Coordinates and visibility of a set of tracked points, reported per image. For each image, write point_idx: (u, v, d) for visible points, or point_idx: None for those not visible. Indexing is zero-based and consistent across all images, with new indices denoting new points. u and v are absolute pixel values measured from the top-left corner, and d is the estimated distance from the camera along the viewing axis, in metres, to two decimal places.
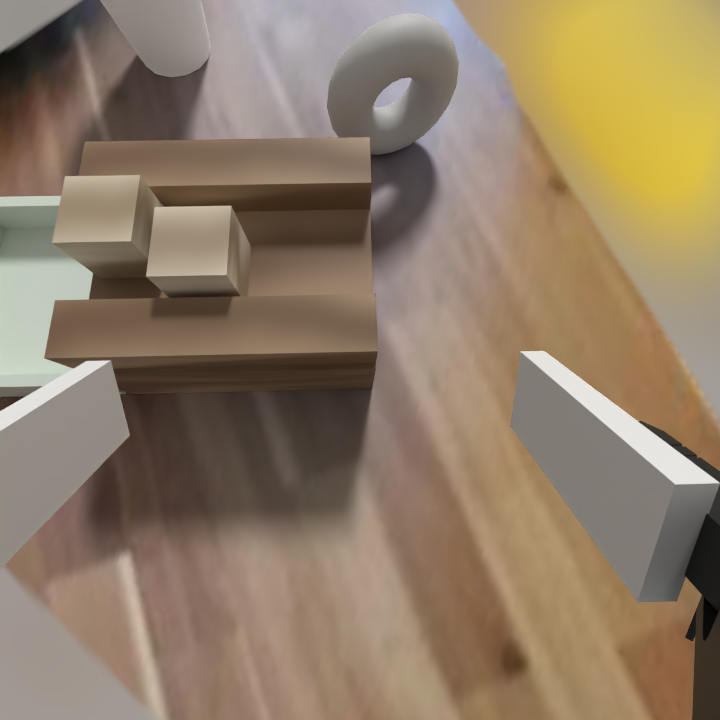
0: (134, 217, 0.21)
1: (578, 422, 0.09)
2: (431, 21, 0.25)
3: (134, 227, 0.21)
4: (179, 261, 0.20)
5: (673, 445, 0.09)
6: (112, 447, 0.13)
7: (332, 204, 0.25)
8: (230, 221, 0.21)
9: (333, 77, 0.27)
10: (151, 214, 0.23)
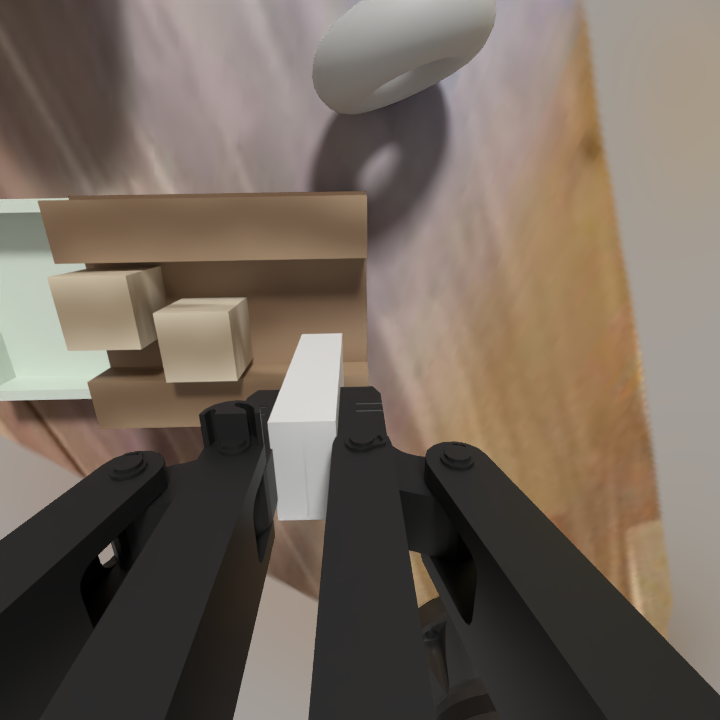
0: (136, 324, 0.22)
1: None
2: None
3: (139, 332, 0.22)
4: (192, 369, 0.22)
5: (374, 402, 0.11)
6: None
7: None
8: (230, 327, 0.22)
9: (320, 61, 0.20)
10: (145, 295, 0.23)
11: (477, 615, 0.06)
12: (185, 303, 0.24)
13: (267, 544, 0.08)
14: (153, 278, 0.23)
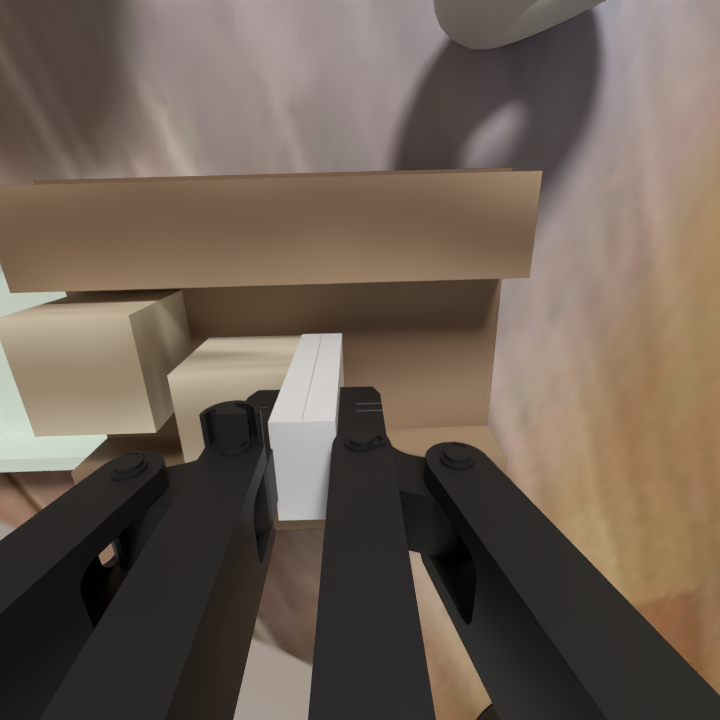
0: (148, 393, 0.13)
1: None
2: None
3: (152, 405, 0.13)
4: None
5: (374, 402, 0.11)
6: None
7: None
8: None
9: None
10: (160, 342, 0.14)
11: (478, 616, 0.06)
12: (217, 349, 0.15)
13: (267, 544, 0.08)
14: (172, 311, 0.15)
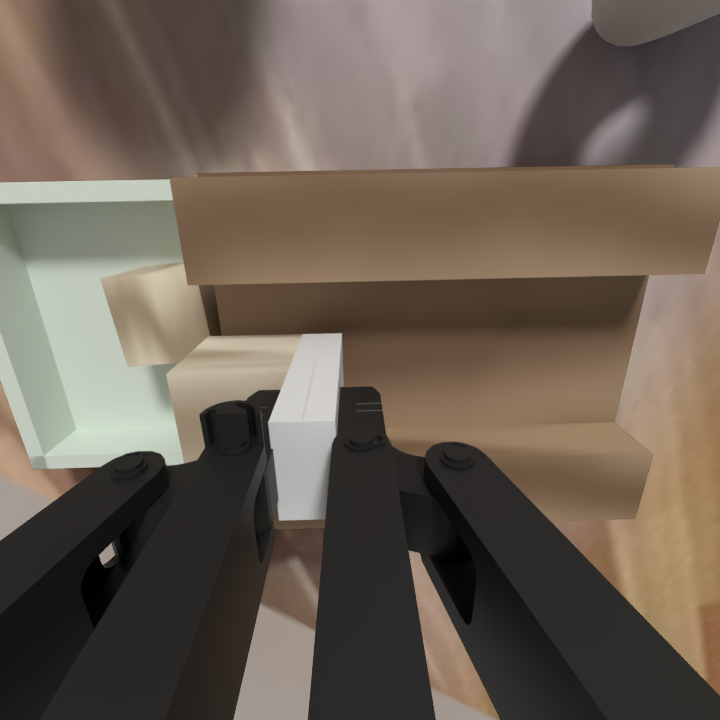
0: (120, 337, 0.18)
1: None
2: None
3: (125, 348, 0.18)
4: None
5: (374, 402, 0.11)
6: None
7: None
8: None
9: None
10: (144, 307, 0.17)
11: (477, 616, 0.06)
12: (216, 348, 0.15)
13: (267, 544, 0.08)
14: (171, 286, 0.17)
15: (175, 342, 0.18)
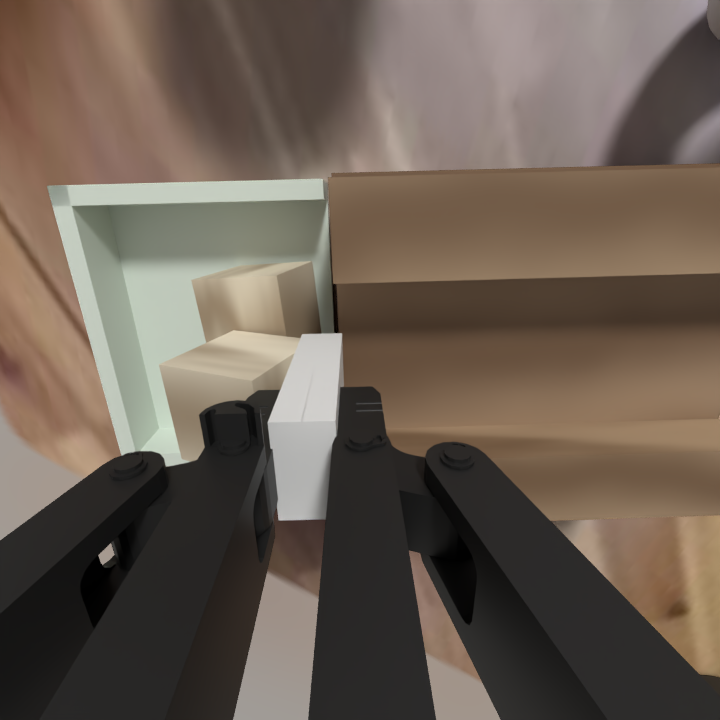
0: (206, 337, 0.18)
1: None
2: None
3: None
4: None
5: (374, 402, 0.11)
6: None
7: None
8: None
9: None
10: (229, 310, 0.17)
11: (478, 616, 0.06)
12: (223, 344, 0.16)
13: (267, 544, 0.08)
14: (253, 291, 0.17)
15: None
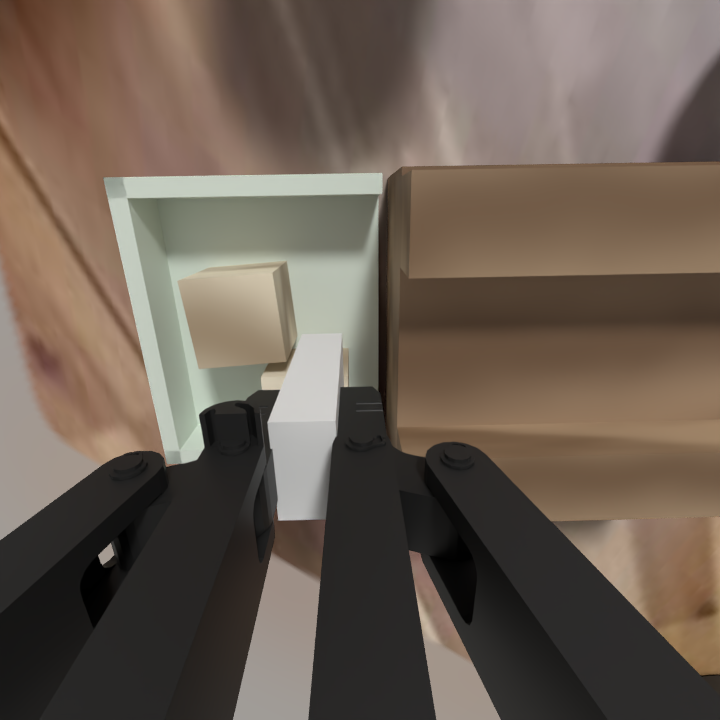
0: None
1: None
2: None
3: None
4: None
5: (374, 402, 0.11)
6: None
7: None
8: None
9: None
10: None
11: (478, 615, 0.06)
12: None
13: (267, 544, 0.08)
14: None
15: None
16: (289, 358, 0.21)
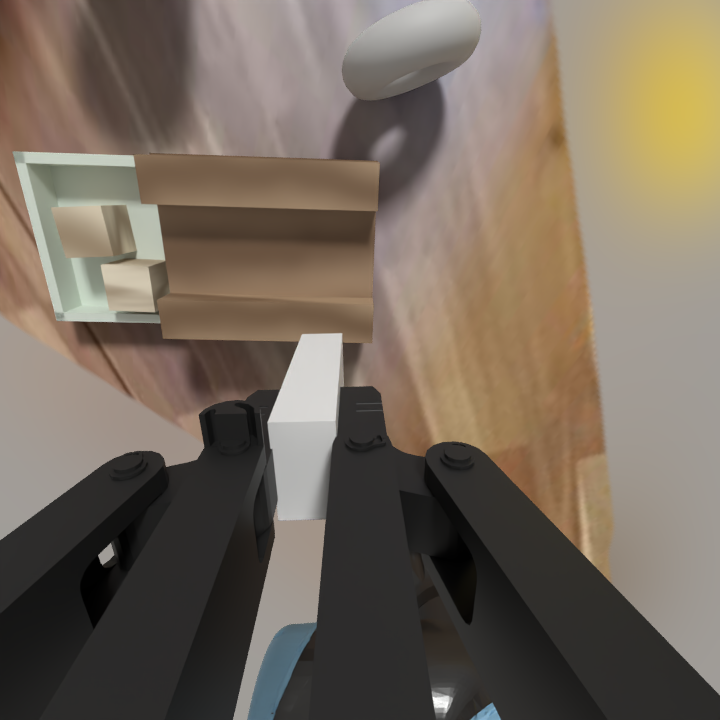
0: None
1: None
2: (454, 17, 0.24)
3: None
4: None
5: (374, 402, 0.11)
6: None
7: None
8: None
9: (349, 60, 0.27)
10: None
11: (478, 615, 0.06)
12: (113, 283, 0.35)
13: (267, 544, 0.08)
14: None
15: None
16: (126, 261, 0.36)
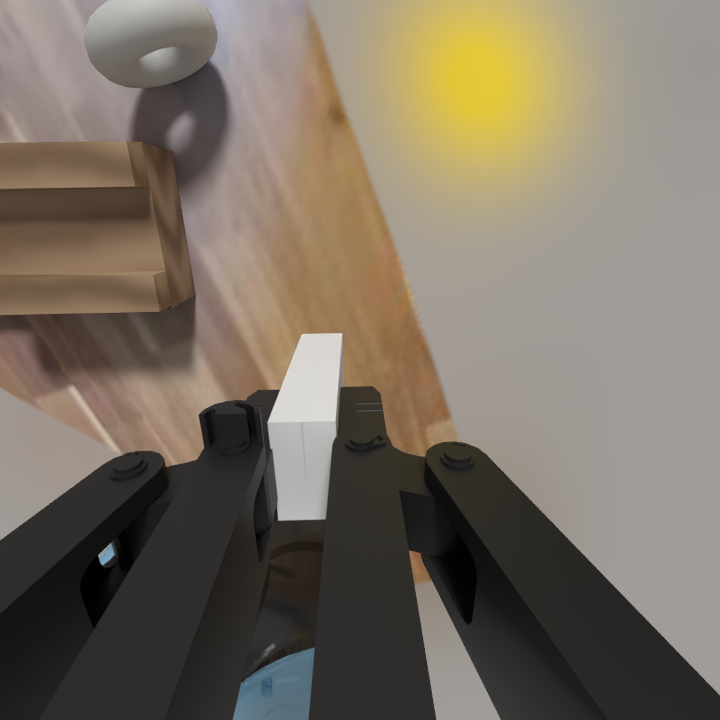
0: None
1: None
2: (154, 4, 0.27)
3: None
4: None
5: (374, 402, 0.11)
6: None
7: None
8: None
9: (86, 49, 0.30)
10: None
11: (478, 616, 0.06)
12: None
13: (267, 544, 0.08)
14: None
15: None
16: None
